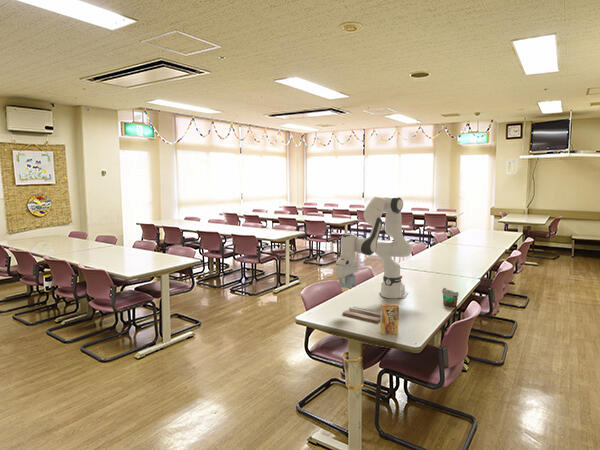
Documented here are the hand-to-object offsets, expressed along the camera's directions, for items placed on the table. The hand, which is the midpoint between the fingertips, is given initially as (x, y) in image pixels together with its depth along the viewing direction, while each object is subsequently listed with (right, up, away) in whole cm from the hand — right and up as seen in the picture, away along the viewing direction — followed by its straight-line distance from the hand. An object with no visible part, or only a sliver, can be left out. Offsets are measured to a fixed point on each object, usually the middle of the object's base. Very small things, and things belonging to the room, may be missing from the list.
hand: (347, 281), depth 240 cm
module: (0, -3, 0) cm, 3 cm away
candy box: (+18, -23, -32) cm, 43 cm away
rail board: (+10, -20, -6) cm, 23 cm away
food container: (+67, -18, +14) cm, 70 cm away
